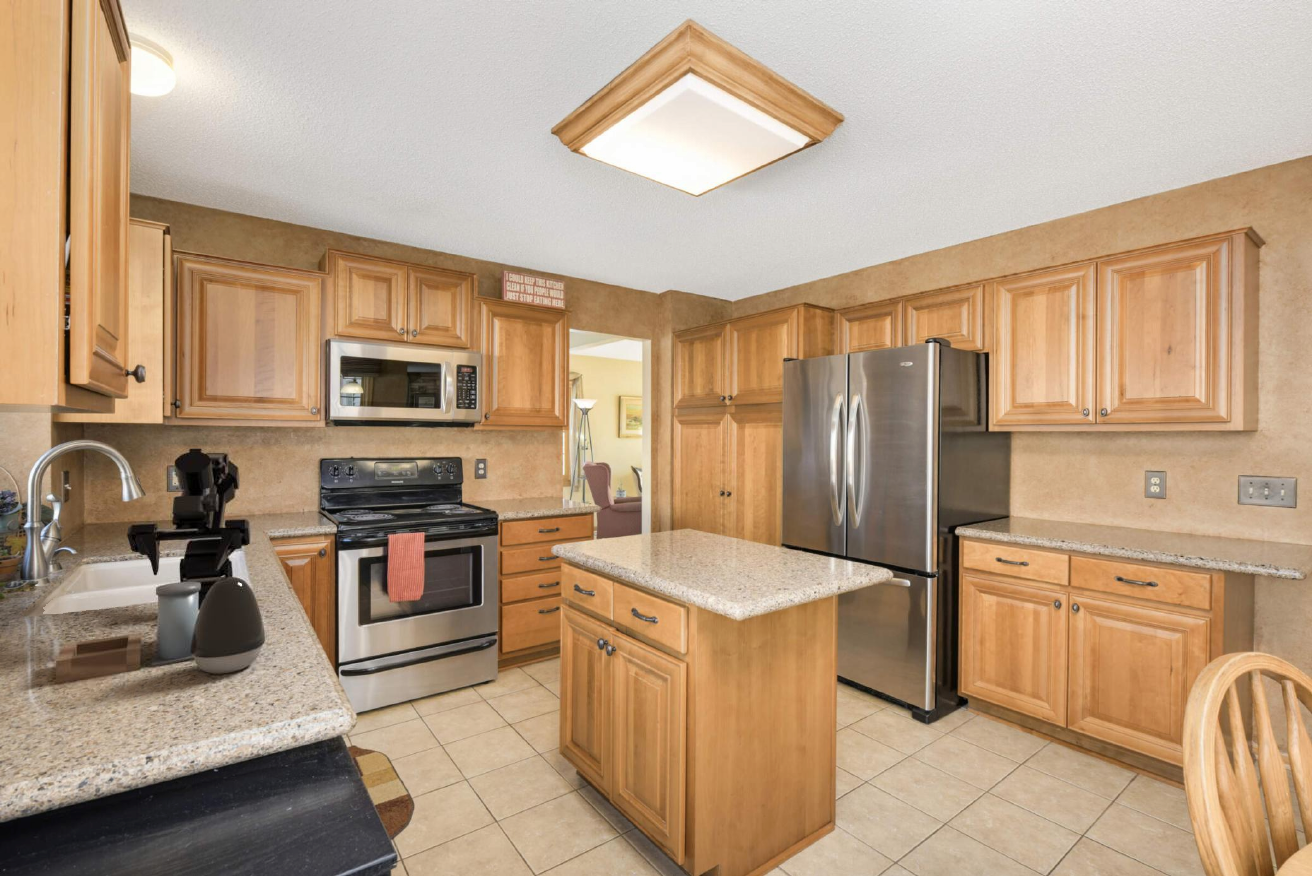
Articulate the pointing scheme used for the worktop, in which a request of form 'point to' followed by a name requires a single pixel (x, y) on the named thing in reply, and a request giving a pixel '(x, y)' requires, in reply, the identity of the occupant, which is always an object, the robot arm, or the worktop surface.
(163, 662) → the rubber mat
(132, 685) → the worktop surface
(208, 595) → the dark egg-shaped device
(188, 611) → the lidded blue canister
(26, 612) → the worktop surface
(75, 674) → the block
